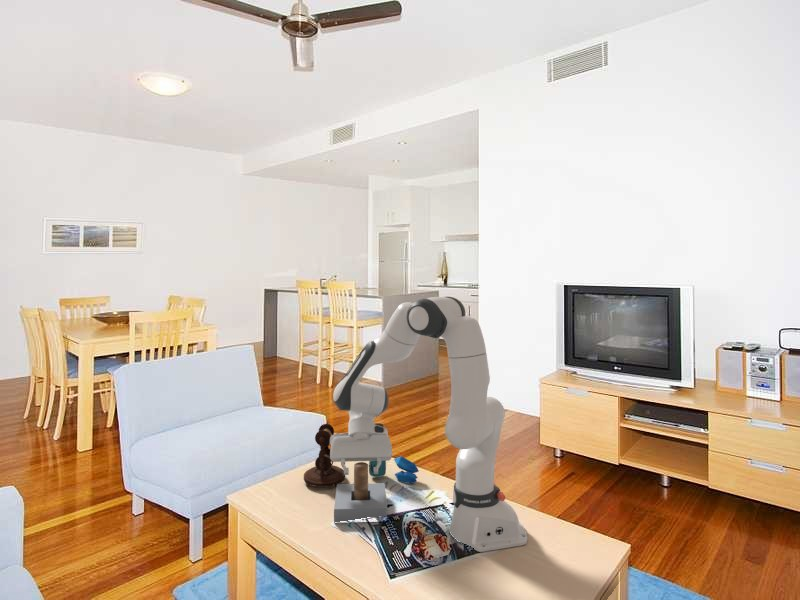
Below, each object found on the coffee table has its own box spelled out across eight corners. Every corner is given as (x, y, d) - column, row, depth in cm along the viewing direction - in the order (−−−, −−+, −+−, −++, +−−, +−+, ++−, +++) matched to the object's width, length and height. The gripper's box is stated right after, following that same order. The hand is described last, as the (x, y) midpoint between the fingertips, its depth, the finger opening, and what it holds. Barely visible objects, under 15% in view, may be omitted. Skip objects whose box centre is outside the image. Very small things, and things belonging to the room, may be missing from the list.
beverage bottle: (384, 472, 178) (384, 420, 176) (388, 480, 171) (388, 426, 170) (367, 474, 176) (367, 421, 175) (370, 482, 170) (370, 428, 168)
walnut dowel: (367, 503, 154) (368, 462, 153) (367, 510, 149) (368, 468, 148) (354, 504, 153) (354, 462, 152) (353, 511, 149) (354, 468, 148)
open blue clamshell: (417, 470, 165) (389, 457, 170) (411, 491, 167) (384, 477, 171) (425, 463, 171) (398, 450, 176) (420, 483, 173) (393, 470, 178)
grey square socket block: (384, 496, 160) (384, 483, 160) (386, 522, 144) (387, 507, 144) (336, 497, 159) (336, 484, 158) (333, 523, 143) (334, 509, 142)
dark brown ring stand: (342, 491, 163) (342, 434, 161) (299, 490, 163) (299, 434, 161) (347, 472, 178) (348, 420, 176) (308, 471, 178) (308, 419, 176)
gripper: (329, 429, 156) (327, 470, 147) (391, 428, 158) (393, 469, 149) (330, 437, 161) (328, 478, 152) (390, 436, 163) (392, 476, 154)
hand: (361, 473), depth 151 cm, fingers open, 8 cm apart
